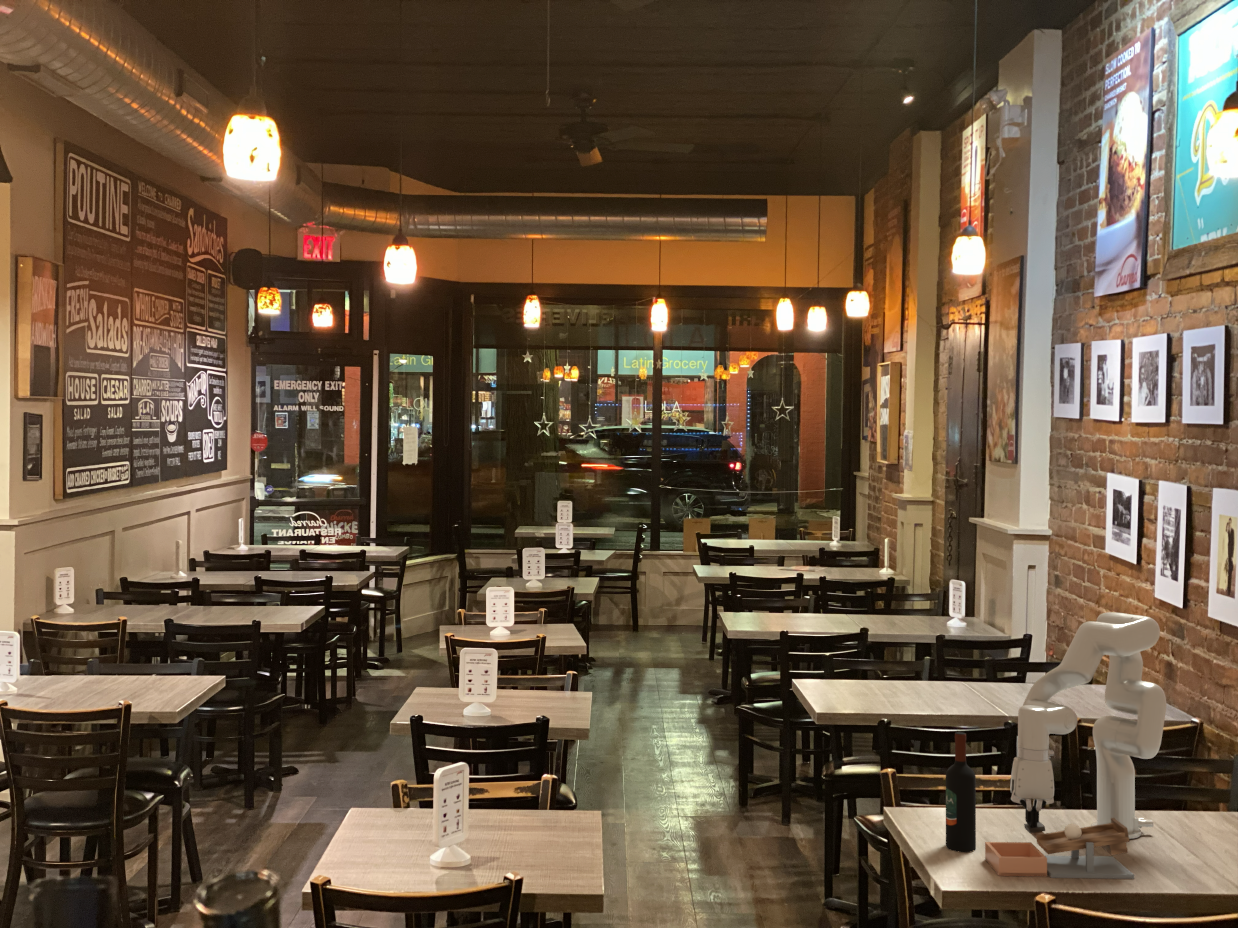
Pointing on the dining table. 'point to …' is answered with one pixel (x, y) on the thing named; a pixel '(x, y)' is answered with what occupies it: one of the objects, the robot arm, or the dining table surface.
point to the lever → (1083, 838)
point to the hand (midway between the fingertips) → (1032, 824)
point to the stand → (1086, 866)
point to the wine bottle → (960, 801)
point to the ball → (1073, 831)
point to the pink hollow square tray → (1015, 859)
